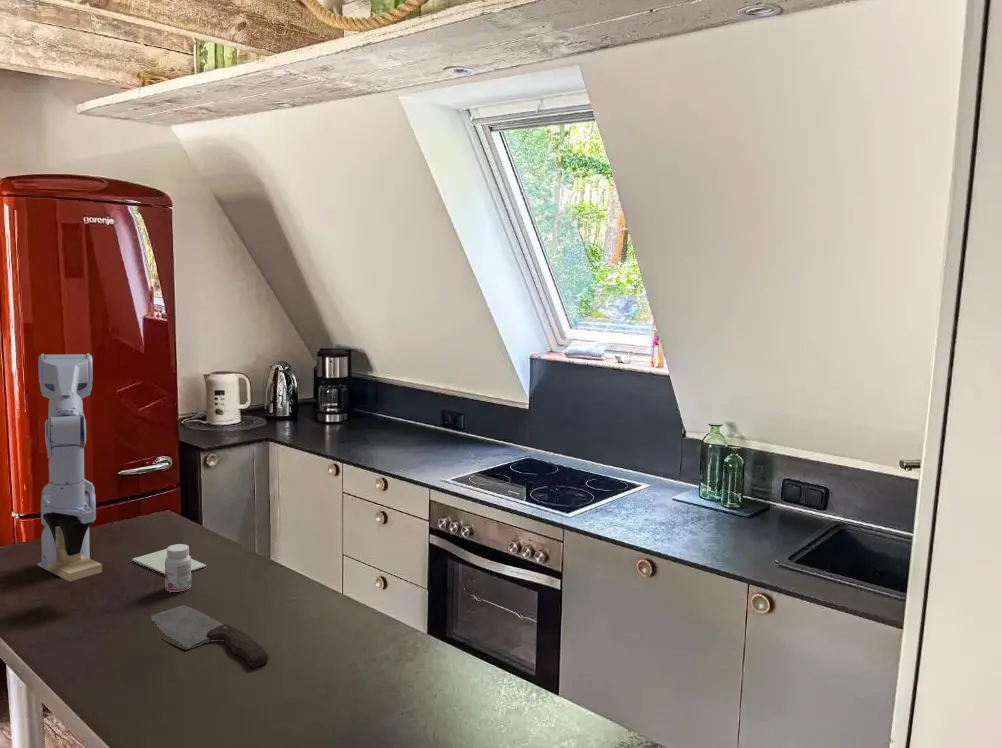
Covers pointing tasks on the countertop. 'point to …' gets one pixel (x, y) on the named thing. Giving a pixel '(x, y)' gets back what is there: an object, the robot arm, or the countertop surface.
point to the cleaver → (207, 633)
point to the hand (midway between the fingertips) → (68, 551)
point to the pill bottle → (177, 568)
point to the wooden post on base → (71, 562)
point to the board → (161, 561)
